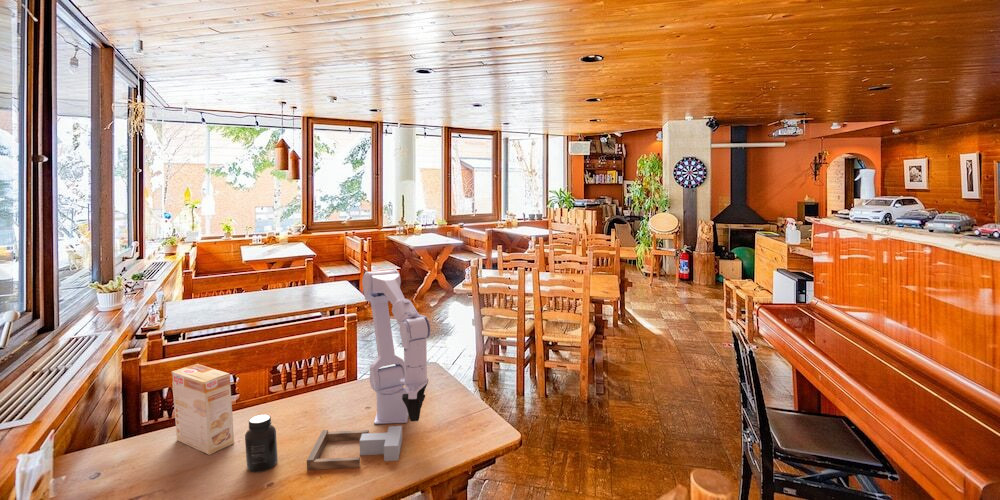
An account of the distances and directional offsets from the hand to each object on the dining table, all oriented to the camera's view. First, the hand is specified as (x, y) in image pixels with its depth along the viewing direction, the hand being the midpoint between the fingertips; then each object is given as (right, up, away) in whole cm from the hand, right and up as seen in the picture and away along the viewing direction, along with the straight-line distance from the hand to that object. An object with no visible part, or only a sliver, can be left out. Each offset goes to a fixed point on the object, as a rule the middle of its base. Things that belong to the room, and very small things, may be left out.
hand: (416, 413), depth 124 cm
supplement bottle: (-37, -10, -7) cm, 39 cm away
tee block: (-9, -10, 0) cm, 13 cm away
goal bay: (-20, -10, -1) cm, 22 cm away
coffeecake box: (-57, -9, +3) cm, 58 cm away
